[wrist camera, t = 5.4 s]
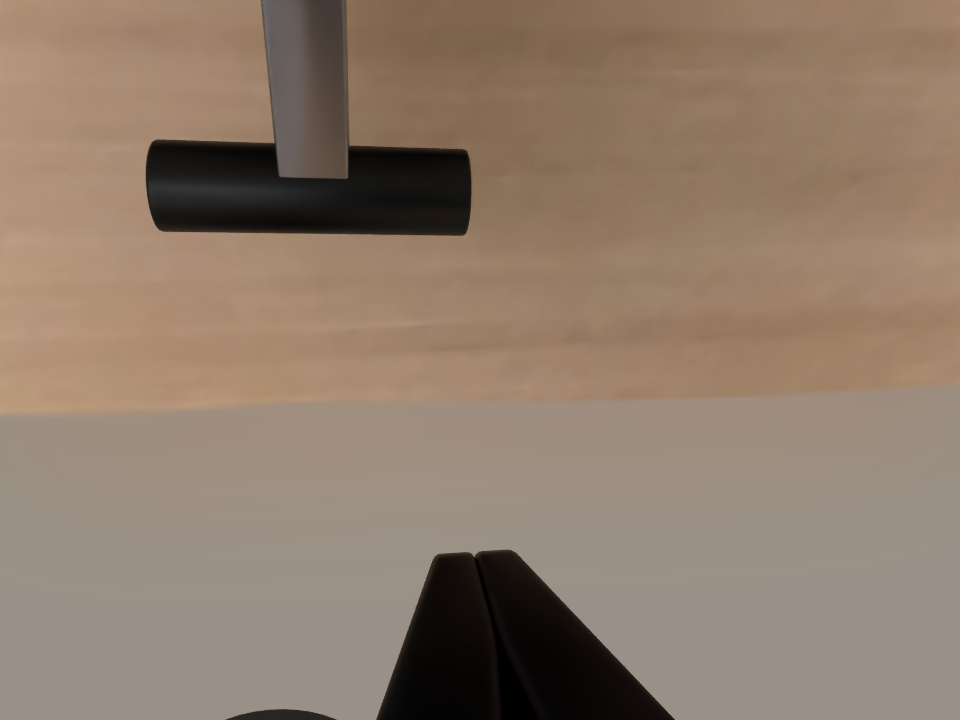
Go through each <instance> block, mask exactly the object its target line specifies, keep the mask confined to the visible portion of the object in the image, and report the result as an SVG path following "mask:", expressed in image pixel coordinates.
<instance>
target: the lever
mask: <svg viewBox="0 0 960 720" xmlns="http://www.w3.org/2000/svg"><path fill="white" fill-rule="evenodd" d="M261 7H262V17H263V28H264V38H265V48H266V59H267V69H268V79H269V89H270V100H271V110H272V120H273V131H274V141H275V143H250V142H218V141H187V140H155V141H153V142H152V143H151V145H150V147H149V150H148V155H147V161H146V189H147V197H148V203H149V208H150V212H151V215H152V218H153V221H154V223H155V225H156V227H157V228H158V229H159V230H161V231H163V232H229V233H303V234H377V235H451V236H463V235H465V234H466V232H467V229H468V226H469V220H470V211H471V166H470V159H469V155H468V153H467V151H466V150H464V149H439V148H407V147H376V146H350V143H349V97H348V51H347V5H346V0H261Z"/></svg>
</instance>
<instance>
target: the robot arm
mask: <svg viewBox="0 0 960 720" xmlns="http://www.w3.org/2000/svg"><path fill="white" fill-rule="evenodd" d="M376 720H675V719H674V718H673V717H672V716H671V715H670V714H669V713H668V712H667V711H666V710H665V709H664V708H663V707H662V706H661V705H660V704H659V702H658V701H657V700H656V699H655V698H654V697H653V696H652V695H651V694H650V693H649V692H648V691H647V690H646V689H645V688H644V687H643V686H642V685H641V684H640V683H639V681H638V680H637V679H636V678H635V677H634V676H633V675H632V674H631V673H630V672H629V671H628V670H627V669H626V668H625V667H624V666H623V665H622V664H621V663H620V661H619V660H618V659H617V658H616V657H615V656H614V655H613V654H612V653H611V652H610V651H609V650H608V649H607V648H606V647H605V646H604V645H603V644H602V643H601V642H600V640H599V639H597V637H596V636H595V635H594V634H593V633H592V632H591V631H590V630H589V629H588V628H587V627H586V626H585V625H584V624H583V623H582V622H581V620H580V619H579V618H578V617H577V616H576V615H575V614H574V613H573V612H572V611H571V610H570V609H569V608H568V607H567V606H566V605H565V604H564V603H563V602H562V601H561V600H560V598H559V597H558V596H557V595H556V594H555V593H554V592H553V591H552V590H551V589H550V588H549V587H548V586H547V585H546V584H545V583H544V582H543V581H542V580H541V578H540V577H539V576H538V575H537V574H536V573H535V572H534V571H533V570H532V569H531V568H530V567H529V566H528V565H527V564H526V563H525V562H524V561H523V560H522V559H521V557H520V556H519V555H518V554H517V553H515V552H513V551H512V550H494V551H481V552H478V553H477V554H476V555H475V557H474V556H473V555H472V554H471V553H469V552H462V553H447V554H438V555H437V556H435V557H434V559H433V561H432V564H431V566H430V569H429V572H428V575H427V578H426V581H425V583H424V587H423V589H422V592H421V595H420V598H419V600H418V604H417V606H416V609H415V612H414V615H413V618H412V620H411V623H410V626H409V629H408V631H407V634H406V637H405V640H404V643H403V646H402V648H401V651H400V654H399V657H398V660H397V663H396V665H395V668H394V671H393V674H392V677H391V679H390V683H389V685H388V688H387V691H386V694H385V696H384V699H383V702H382V705H381V708H380V711H379V713H378V716H377V719H376Z"/></svg>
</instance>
